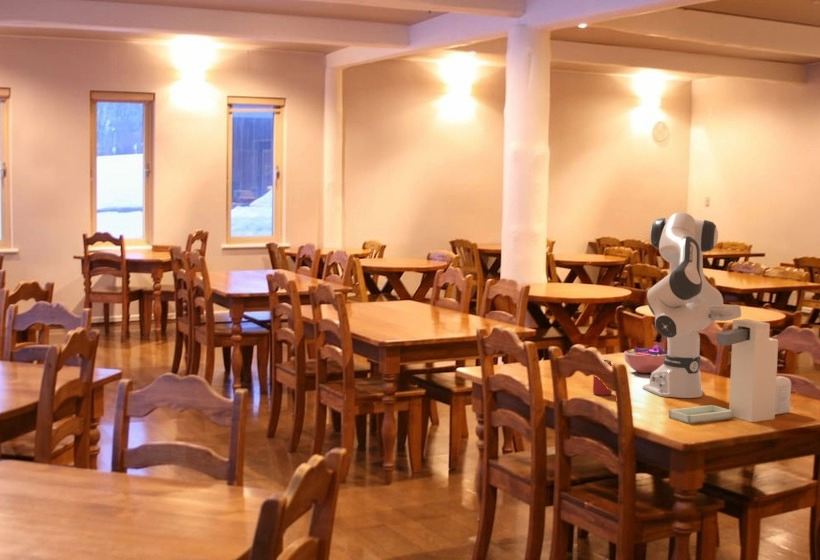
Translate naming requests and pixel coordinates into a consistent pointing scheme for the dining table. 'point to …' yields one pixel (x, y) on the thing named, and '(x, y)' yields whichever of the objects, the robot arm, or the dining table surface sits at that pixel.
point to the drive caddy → (733, 336)
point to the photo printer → (782, 395)
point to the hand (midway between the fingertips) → (722, 306)
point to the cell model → (645, 358)
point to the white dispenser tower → (754, 373)
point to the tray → (700, 414)
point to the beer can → (600, 385)
